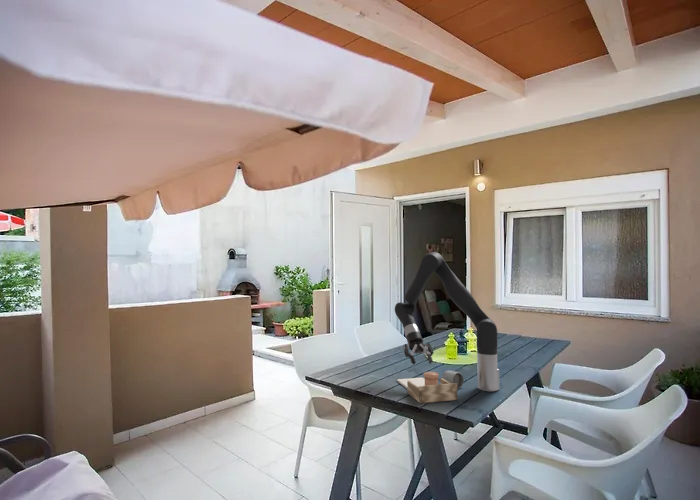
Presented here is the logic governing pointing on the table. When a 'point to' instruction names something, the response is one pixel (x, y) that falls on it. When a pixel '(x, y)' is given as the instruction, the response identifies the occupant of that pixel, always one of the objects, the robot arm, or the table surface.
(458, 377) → the ceramic mug
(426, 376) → the tan round-topped cylinder
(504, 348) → the table surface
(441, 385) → the wooden frame
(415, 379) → the stone tile
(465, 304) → the robot arm
